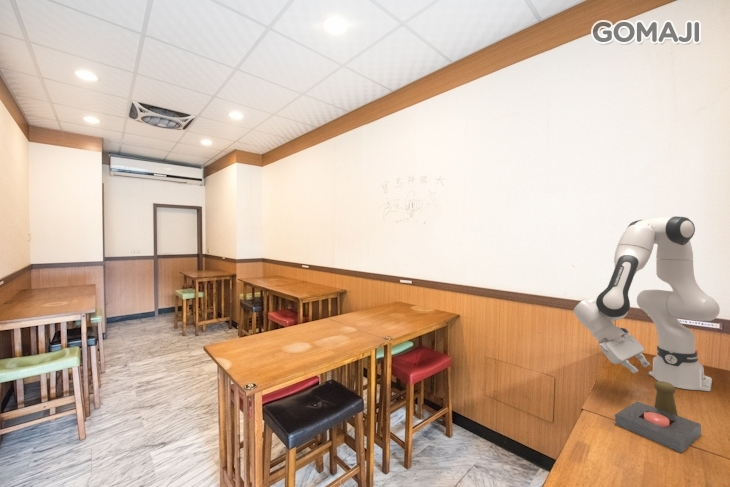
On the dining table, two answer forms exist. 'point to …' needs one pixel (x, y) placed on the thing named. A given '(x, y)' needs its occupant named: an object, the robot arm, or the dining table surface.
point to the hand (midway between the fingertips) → (642, 369)
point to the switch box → (672, 436)
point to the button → (657, 419)
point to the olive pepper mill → (665, 397)
